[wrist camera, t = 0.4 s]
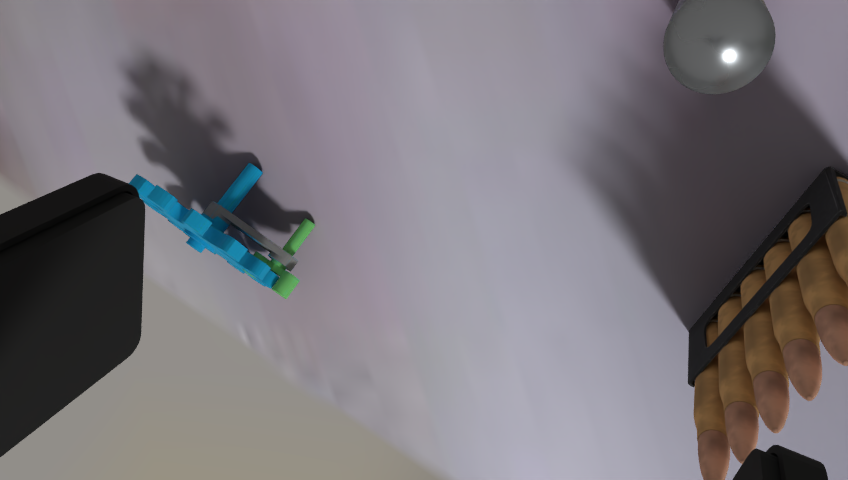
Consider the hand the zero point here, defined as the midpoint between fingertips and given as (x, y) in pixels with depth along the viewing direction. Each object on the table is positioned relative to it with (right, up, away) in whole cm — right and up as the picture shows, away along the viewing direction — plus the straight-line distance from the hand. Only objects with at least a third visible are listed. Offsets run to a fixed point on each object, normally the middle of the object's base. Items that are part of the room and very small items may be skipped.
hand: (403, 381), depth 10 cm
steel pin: (+13, +12, +20) cm, 27 cm away
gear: (-11, +4, +34) cm, 36 cm away
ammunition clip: (+17, +1, +24) cm, 29 cm away
